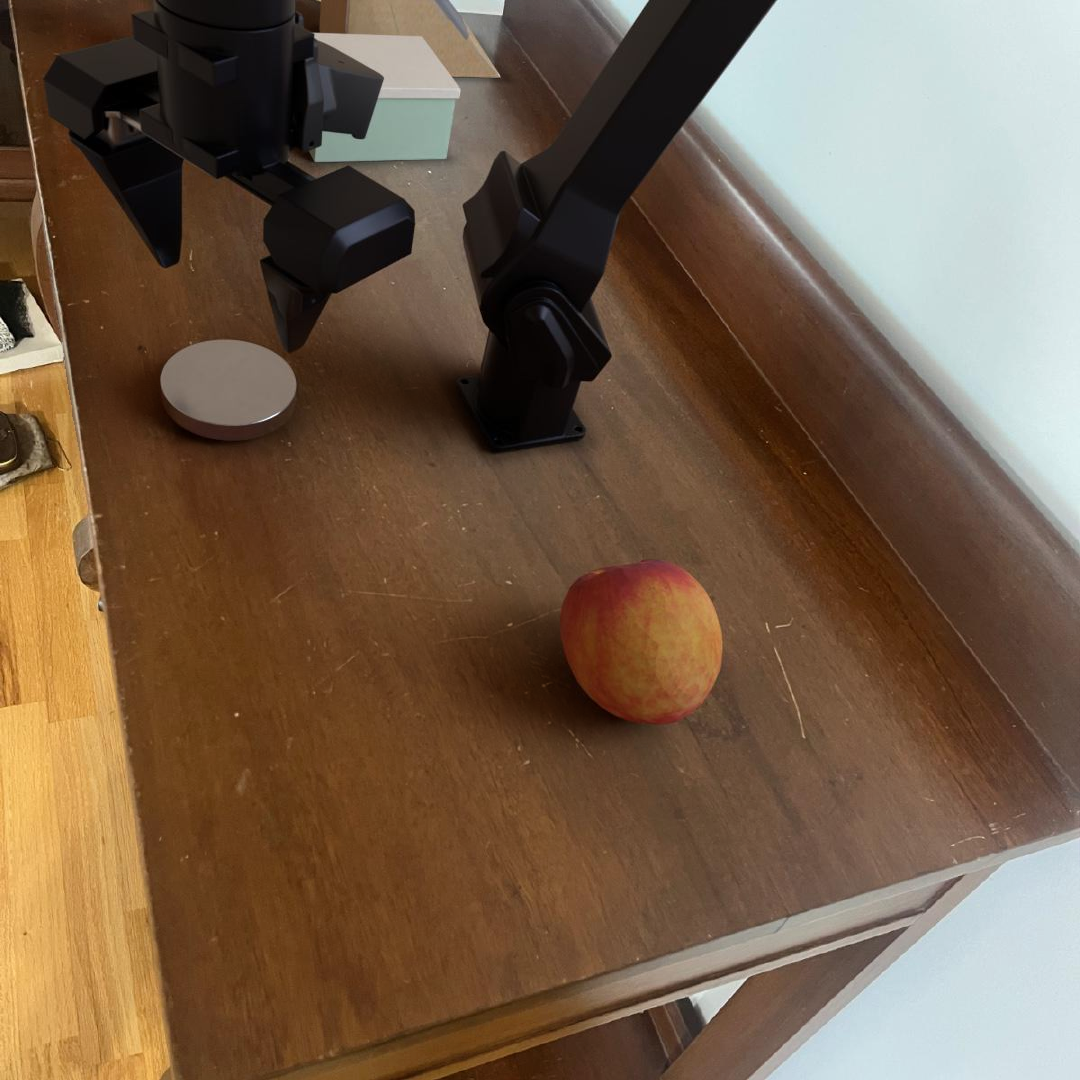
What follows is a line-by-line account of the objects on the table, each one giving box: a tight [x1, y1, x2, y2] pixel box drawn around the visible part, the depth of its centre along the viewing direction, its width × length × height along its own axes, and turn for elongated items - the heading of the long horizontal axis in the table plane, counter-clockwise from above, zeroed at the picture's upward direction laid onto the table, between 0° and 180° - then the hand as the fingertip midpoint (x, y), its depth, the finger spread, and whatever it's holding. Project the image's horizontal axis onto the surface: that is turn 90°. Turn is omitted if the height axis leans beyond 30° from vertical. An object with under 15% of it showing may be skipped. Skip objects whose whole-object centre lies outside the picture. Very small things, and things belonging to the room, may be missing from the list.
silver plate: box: [159, 339, 298, 442], centre depth 58 cm, size 7×7×2 cm
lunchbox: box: [308, 32, 461, 163], centre depth 80 cm, size 12×9×6 cm
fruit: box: [559, 558, 723, 726], centre depth 48 cm, size 8×8×8 cm
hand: (230, 305), depth 53 cm, fingers open, 9 cm apart
